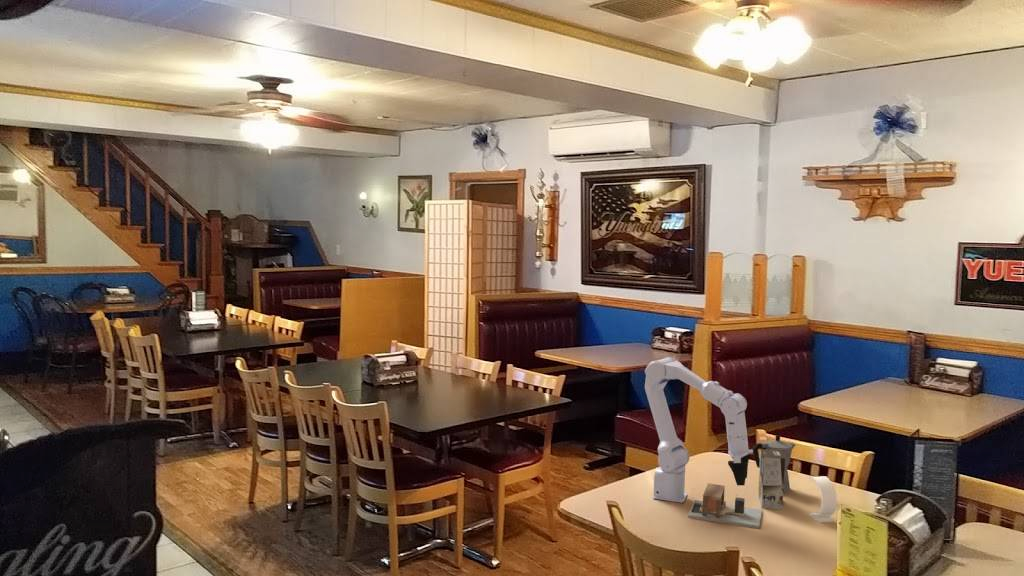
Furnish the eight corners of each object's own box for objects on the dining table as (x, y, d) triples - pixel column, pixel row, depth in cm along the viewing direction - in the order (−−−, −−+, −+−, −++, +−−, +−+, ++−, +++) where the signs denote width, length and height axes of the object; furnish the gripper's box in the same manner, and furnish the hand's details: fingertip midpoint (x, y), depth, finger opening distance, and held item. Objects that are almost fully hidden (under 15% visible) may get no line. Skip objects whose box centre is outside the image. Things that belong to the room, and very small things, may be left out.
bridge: (702, 515, 221) (703, 495, 220) (707, 502, 231) (707, 483, 230) (719, 518, 219) (720, 497, 218) (723, 505, 229) (724, 485, 229)
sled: (699, 511, 224) (700, 497, 223) (702, 504, 229) (702, 490, 229) (743, 518, 219) (743, 503, 219) (744, 510, 225) (745, 496, 224)
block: (705, 509, 224) (706, 496, 223) (707, 504, 228) (707, 491, 227) (719, 511, 222) (720, 498, 222) (721, 506, 226) (721, 493, 226)
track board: (687, 517, 221) (688, 514, 221) (694, 502, 234) (694, 499, 233) (758, 528, 214) (759, 525, 214) (761, 512, 226) (761, 509, 226)
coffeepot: (785, 482, 252) (787, 430, 251) (801, 492, 243) (804, 438, 242) (743, 485, 249) (745, 432, 247) (758, 495, 240) (761, 440, 238)
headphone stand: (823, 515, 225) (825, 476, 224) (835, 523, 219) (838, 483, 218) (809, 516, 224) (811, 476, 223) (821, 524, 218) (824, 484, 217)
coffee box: (783, 510, 228) (785, 458, 227) (761, 508, 229) (763, 456, 228) (778, 499, 237) (781, 449, 236) (757, 497, 238) (759, 448, 237)
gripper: (749, 440, 214) (754, 488, 214) (752, 430, 227) (757, 475, 227) (723, 441, 216) (728, 488, 216) (728, 431, 230) (733, 475, 230)
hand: (742, 481), depth 222 cm, fingers open, 7 cm apart
